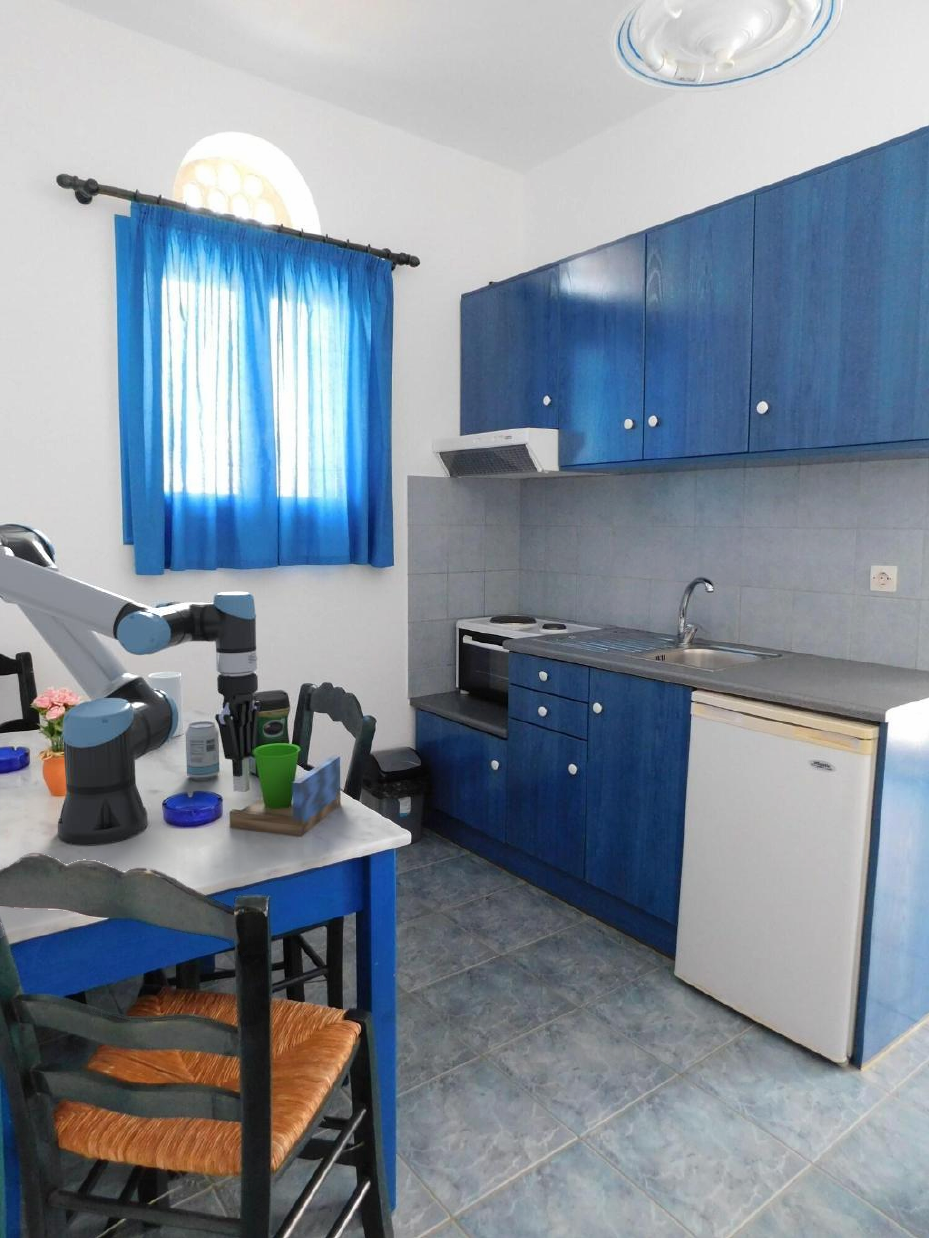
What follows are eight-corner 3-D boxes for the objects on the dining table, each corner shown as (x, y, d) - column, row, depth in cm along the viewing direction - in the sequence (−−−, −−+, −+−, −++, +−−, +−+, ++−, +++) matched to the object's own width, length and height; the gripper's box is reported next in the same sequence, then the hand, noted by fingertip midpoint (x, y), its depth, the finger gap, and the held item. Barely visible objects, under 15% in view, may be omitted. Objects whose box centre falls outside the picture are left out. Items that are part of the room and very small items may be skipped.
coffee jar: (285, 763, 190) (283, 685, 187) (296, 772, 183) (294, 692, 180) (244, 769, 185) (241, 690, 182) (253, 779, 178) (251, 696, 176)
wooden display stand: (301, 836, 146) (300, 783, 145) (230, 827, 150) (228, 775, 149) (340, 804, 163) (339, 756, 162) (275, 797, 167) (274, 750, 165)
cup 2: (295, 813, 152) (294, 756, 151) (248, 812, 152) (246, 756, 151) (306, 796, 161) (305, 743, 160) (261, 796, 161) (259, 742, 160)
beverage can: (218, 770, 184) (217, 719, 182) (220, 780, 177) (219, 726, 176) (186, 774, 181) (184, 721, 180) (187, 783, 175) (185, 729, 173)
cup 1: (178, 728, 221) (176, 670, 219) (187, 734, 214) (185, 675, 212) (147, 732, 216) (144, 673, 214) (154, 739, 209) (152, 678, 207)
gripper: (236, 679, 148) (241, 803, 151) (271, 667, 161) (275, 781, 164) (200, 677, 150) (206, 799, 153) (237, 665, 163) (242, 778, 166)
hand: (241, 790), depth 158 cm, fingers closed
